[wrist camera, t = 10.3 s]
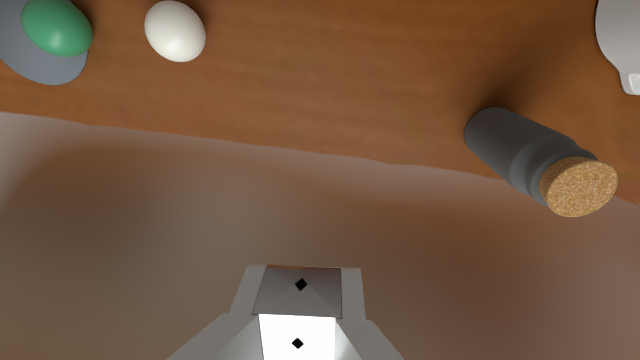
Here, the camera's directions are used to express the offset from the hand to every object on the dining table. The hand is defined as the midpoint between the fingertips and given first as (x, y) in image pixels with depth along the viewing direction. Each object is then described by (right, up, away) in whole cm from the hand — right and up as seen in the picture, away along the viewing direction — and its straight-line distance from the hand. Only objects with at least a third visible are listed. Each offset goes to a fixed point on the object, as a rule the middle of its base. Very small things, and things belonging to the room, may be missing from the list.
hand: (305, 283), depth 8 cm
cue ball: (-14, +18, +22) cm, 31 cm away
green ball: (-26, +18, +22) cm, 39 cm away
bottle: (+20, +9, +27) cm, 35 cm away
